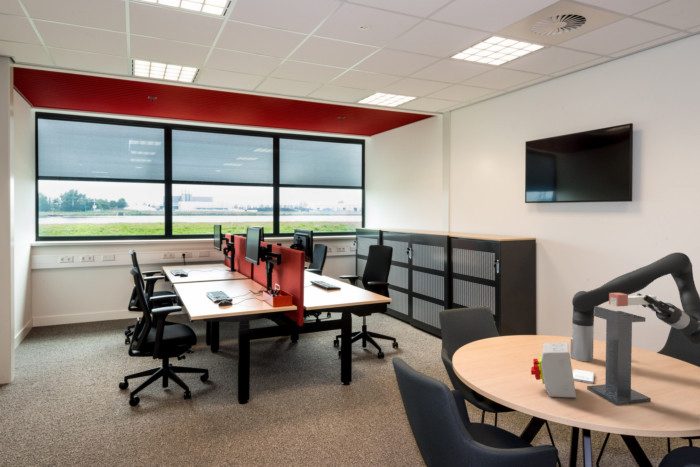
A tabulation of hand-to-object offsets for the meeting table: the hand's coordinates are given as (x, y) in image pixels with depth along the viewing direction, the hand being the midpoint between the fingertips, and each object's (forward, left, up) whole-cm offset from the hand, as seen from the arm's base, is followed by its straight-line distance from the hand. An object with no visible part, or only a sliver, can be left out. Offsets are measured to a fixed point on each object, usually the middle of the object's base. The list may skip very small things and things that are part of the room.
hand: (641, 296), depth 170 cm
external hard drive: (-22, +2, -40) cm, 45 cm away
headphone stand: (-5, -9, -39) cm, 40 cm away
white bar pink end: (-2, -3, -3) cm, 5 cm away
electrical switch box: (-24, -23, -39) cm, 51 cm away
